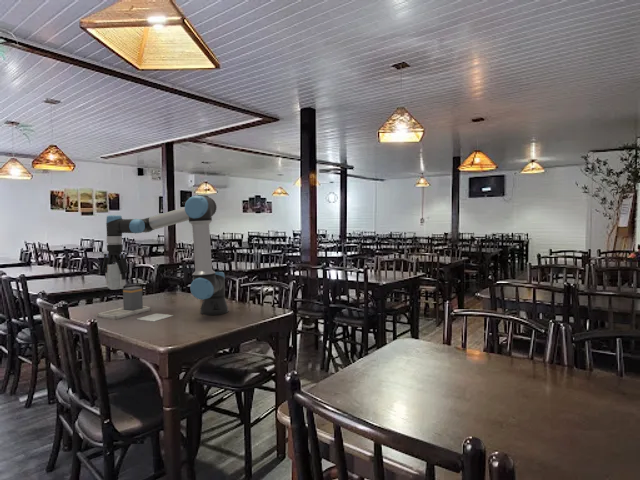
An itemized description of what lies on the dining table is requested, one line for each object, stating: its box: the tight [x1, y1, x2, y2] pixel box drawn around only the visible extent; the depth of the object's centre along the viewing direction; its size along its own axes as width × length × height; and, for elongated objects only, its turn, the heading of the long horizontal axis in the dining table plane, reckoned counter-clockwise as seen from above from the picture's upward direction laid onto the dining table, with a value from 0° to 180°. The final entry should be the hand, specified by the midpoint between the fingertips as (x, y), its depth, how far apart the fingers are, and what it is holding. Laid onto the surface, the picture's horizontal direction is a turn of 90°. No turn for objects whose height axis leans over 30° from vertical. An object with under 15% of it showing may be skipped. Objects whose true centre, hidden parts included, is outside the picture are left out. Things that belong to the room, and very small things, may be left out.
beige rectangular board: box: [96, 305, 152, 320], centre depth 234 cm, size 14×24×2 cm, turn 157°
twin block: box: [122, 285, 144, 311], centre depth 239 cm, size 6×8×13 cm
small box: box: [106, 263, 124, 291], centre depth 227 cm, size 8×6×13 cm
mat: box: [136, 313, 174, 322], centre depth 224 cm, size 12×14×1 cm
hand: (115, 285), depth 227 cm, fingers closed on small box, 10 cm apart
